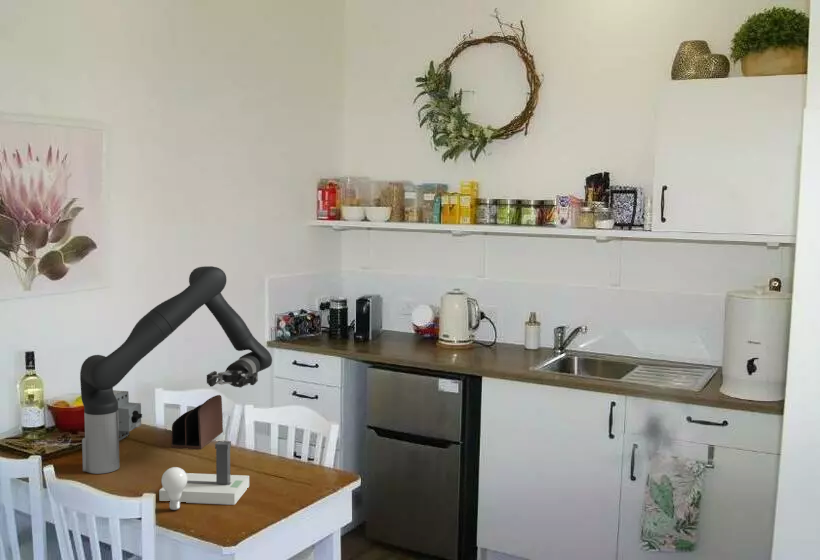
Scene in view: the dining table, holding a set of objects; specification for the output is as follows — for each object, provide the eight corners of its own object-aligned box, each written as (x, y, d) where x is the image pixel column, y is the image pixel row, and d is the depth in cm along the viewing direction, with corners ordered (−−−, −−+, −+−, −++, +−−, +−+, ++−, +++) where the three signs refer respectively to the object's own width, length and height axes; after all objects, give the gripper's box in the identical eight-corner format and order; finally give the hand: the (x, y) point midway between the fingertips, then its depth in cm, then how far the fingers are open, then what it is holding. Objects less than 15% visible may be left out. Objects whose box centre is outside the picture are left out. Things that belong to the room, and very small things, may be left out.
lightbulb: (164, 505, 211) (164, 463, 210) (189, 504, 212) (189, 463, 211) (159, 514, 205) (158, 472, 204) (185, 514, 206) (184, 471, 205)
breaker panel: (159, 501, 214) (159, 490, 214) (178, 483, 228) (178, 472, 228) (234, 504, 213) (234, 493, 212) (249, 486, 226) (249, 475, 226)
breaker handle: (215, 483, 218) (215, 444, 217) (219, 479, 221) (218, 440, 220) (228, 484, 218) (227, 444, 217) (231, 480, 221) (231, 441, 220)
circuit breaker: (134, 443, 264) (133, 397, 263) (94, 440, 267) (93, 394, 266) (146, 436, 271) (145, 392, 270) (107, 433, 274) (106, 389, 273)
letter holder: (223, 432, 278) (222, 391, 277) (201, 450, 259) (200, 406, 257) (195, 431, 280) (194, 390, 278) (170, 448, 260) (170, 404, 259)
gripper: (218, 359, 252) (200, 370, 236) (264, 360, 251) (249, 371, 235) (218, 383, 253) (201, 395, 237) (264, 384, 252) (249, 397, 235)
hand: (225, 383), depth 236 cm, fingers open, 8 cm apart
